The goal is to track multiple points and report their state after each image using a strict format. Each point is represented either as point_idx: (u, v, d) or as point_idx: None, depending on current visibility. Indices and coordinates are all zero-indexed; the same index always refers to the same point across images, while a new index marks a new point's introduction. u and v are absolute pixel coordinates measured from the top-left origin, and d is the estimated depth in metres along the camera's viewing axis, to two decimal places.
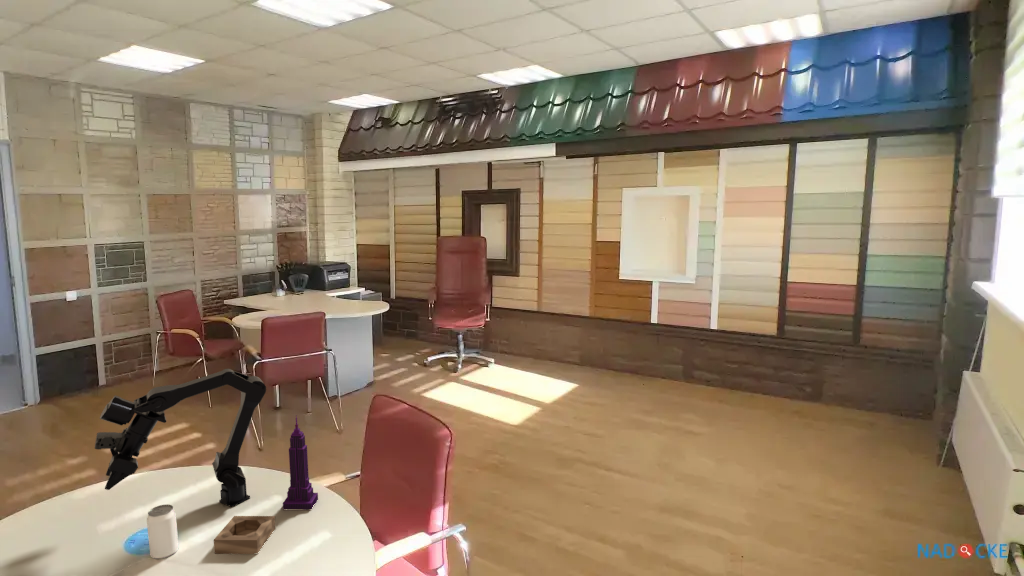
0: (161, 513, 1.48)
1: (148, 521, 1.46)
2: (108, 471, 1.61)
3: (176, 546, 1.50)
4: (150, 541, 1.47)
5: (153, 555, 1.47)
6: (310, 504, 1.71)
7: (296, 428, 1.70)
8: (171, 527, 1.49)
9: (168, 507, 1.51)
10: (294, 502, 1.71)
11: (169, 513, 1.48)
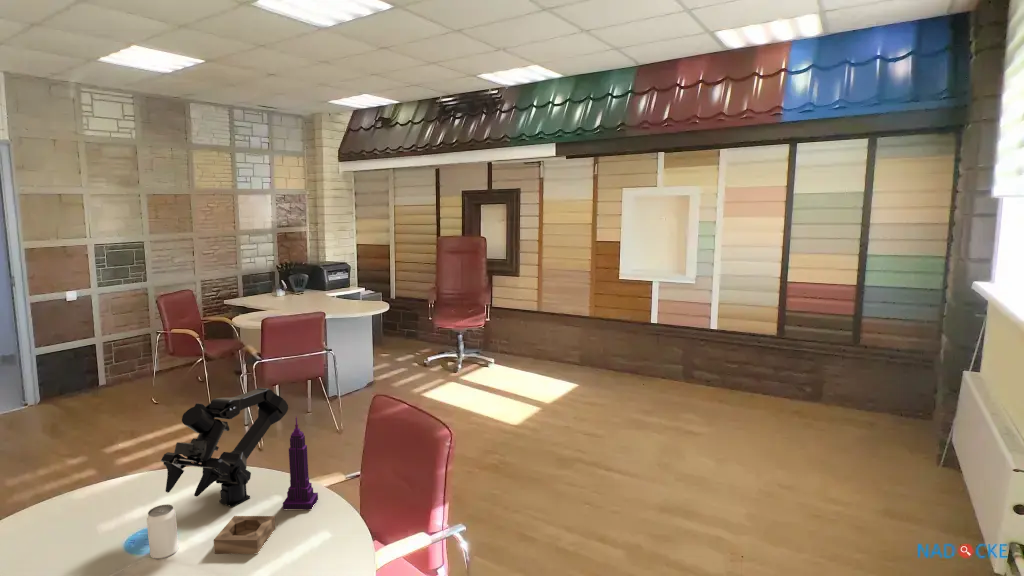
0: (161, 513, 1.48)
1: (148, 521, 1.46)
2: (168, 487, 1.57)
3: (176, 546, 1.50)
4: (150, 541, 1.47)
5: (153, 555, 1.47)
6: (310, 504, 1.71)
7: (296, 428, 1.70)
8: (171, 527, 1.49)
9: (168, 507, 1.51)
10: (294, 502, 1.71)
11: (169, 513, 1.48)
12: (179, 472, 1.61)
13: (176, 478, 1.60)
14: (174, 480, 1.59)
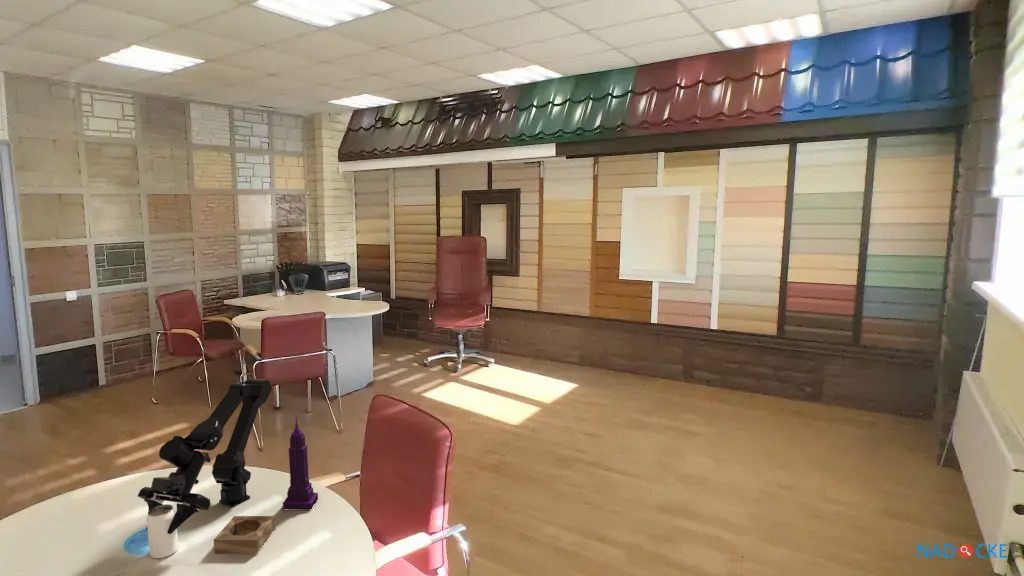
0: (161, 513, 1.48)
1: (148, 521, 1.46)
2: None
3: (176, 546, 1.50)
4: (150, 541, 1.47)
5: (153, 555, 1.47)
6: (310, 504, 1.71)
7: (296, 428, 1.70)
8: None
9: (168, 507, 1.51)
10: (294, 502, 1.71)
11: (169, 513, 1.48)
12: None
13: None
14: None
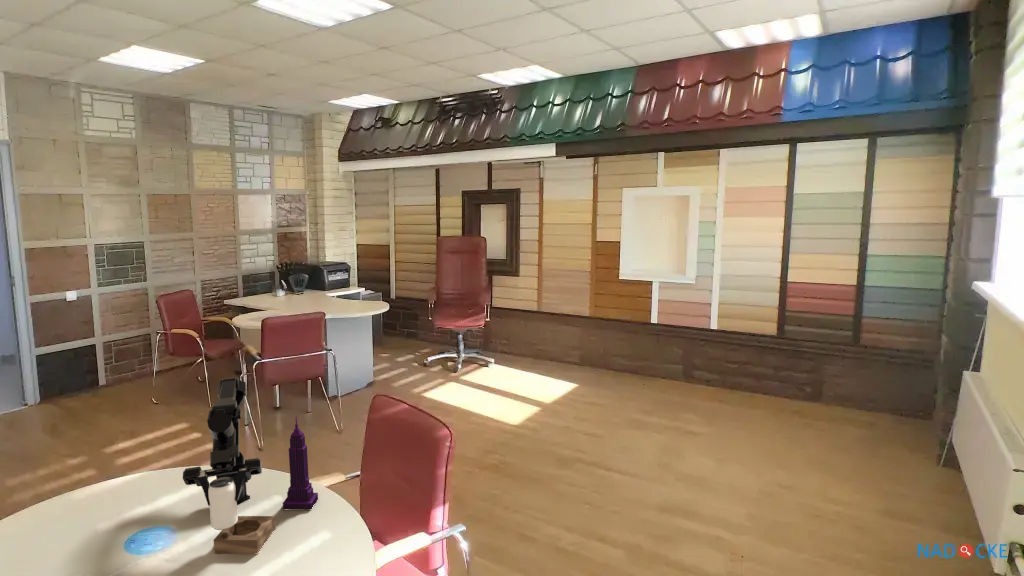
0: (225, 484, 1.50)
1: (216, 493, 1.47)
2: None
3: None
4: (218, 513, 1.48)
5: (221, 527, 1.49)
6: (310, 504, 1.71)
7: (296, 428, 1.70)
8: (235, 495, 1.52)
9: (224, 479, 1.52)
10: (294, 502, 1.71)
11: (233, 482, 1.51)
12: (208, 485, 1.53)
13: None
14: None
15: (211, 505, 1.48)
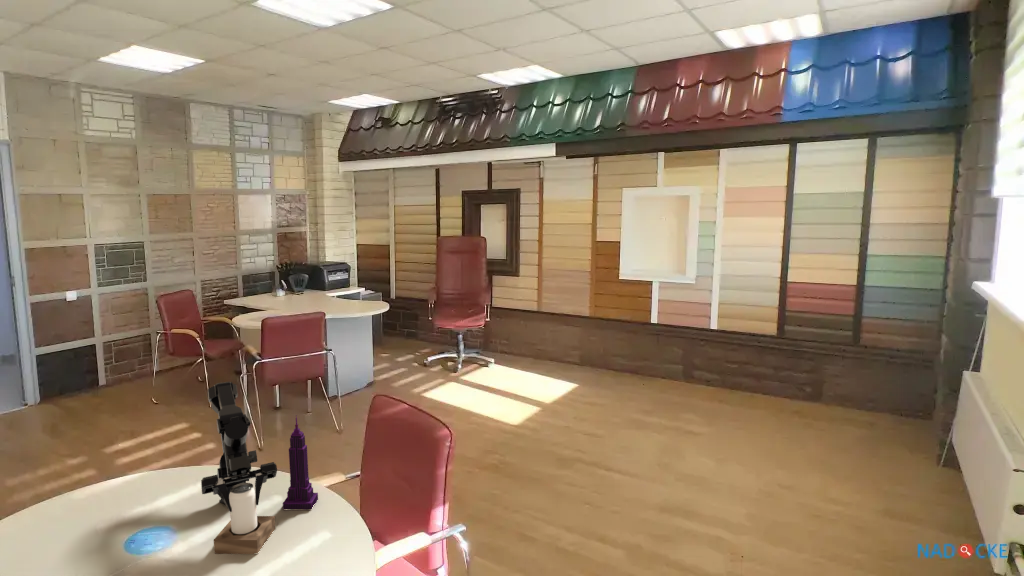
0: (246, 489, 1.53)
1: (239, 499, 1.50)
2: None
3: None
4: (241, 518, 1.51)
5: (244, 531, 1.52)
6: (310, 504, 1.71)
7: (296, 428, 1.70)
8: (255, 499, 1.55)
9: (242, 485, 1.55)
10: (294, 502, 1.71)
11: None
12: None
13: None
14: None
15: (233, 511, 1.51)
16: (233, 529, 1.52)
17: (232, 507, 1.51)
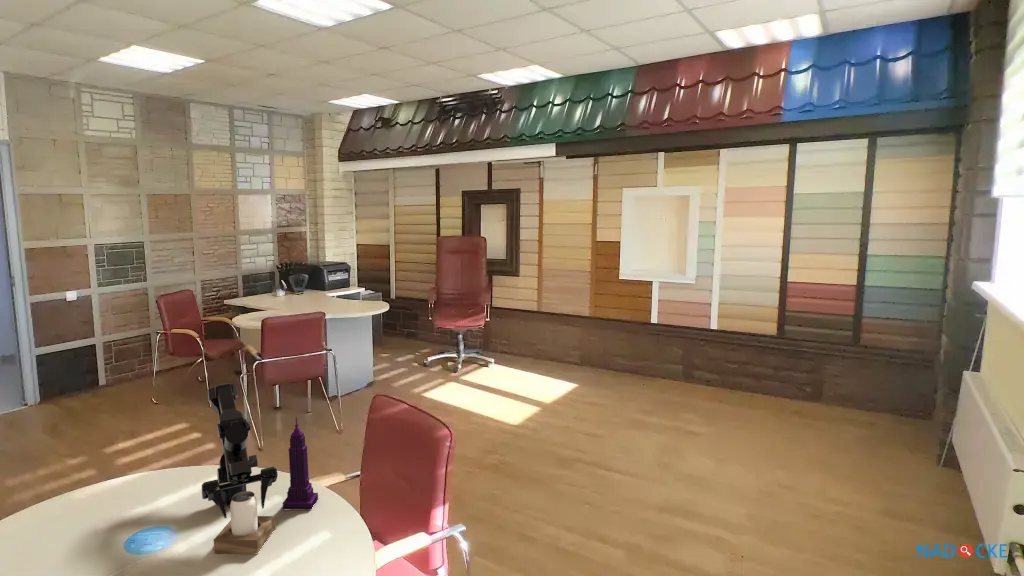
0: (247, 497, 1.54)
1: (240, 507, 1.51)
2: (225, 512, 1.51)
3: None
4: (241, 527, 1.52)
5: None
6: (310, 504, 1.71)
7: (296, 428, 1.70)
8: (256, 508, 1.56)
9: (244, 493, 1.56)
10: (294, 502, 1.71)
11: (254, 496, 1.55)
12: None
13: None
14: None
15: (234, 519, 1.52)
16: None
17: (233, 515, 1.52)
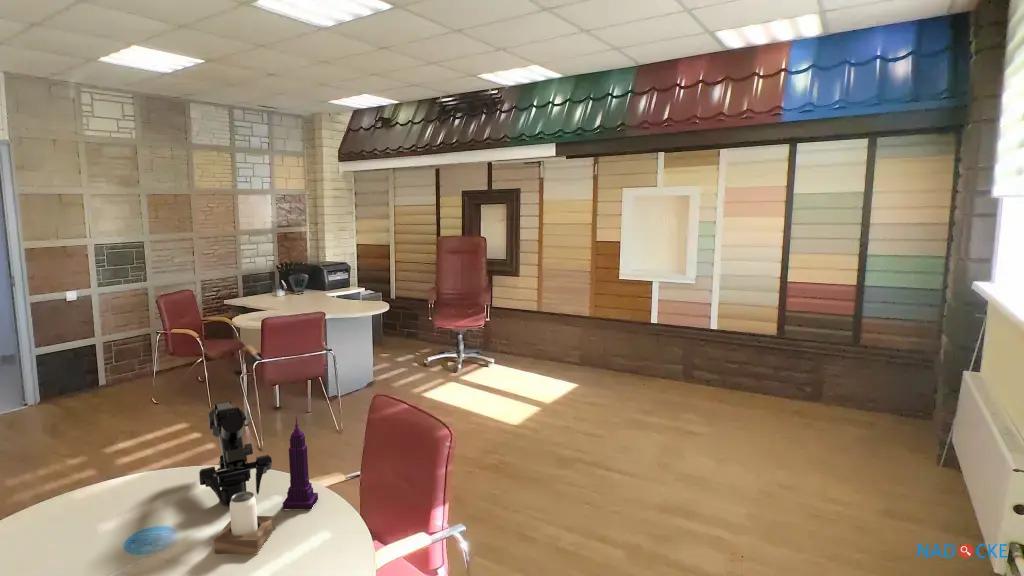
0: (246, 498, 1.54)
1: (239, 508, 1.51)
2: (222, 497, 1.58)
3: None
4: (241, 527, 1.52)
5: None
6: (310, 504, 1.71)
7: (296, 428, 1.70)
8: None
9: (243, 493, 1.56)
10: (294, 502, 1.71)
11: (253, 496, 1.55)
12: None
13: None
14: None
15: (234, 520, 1.52)
16: None
17: (232, 516, 1.52)
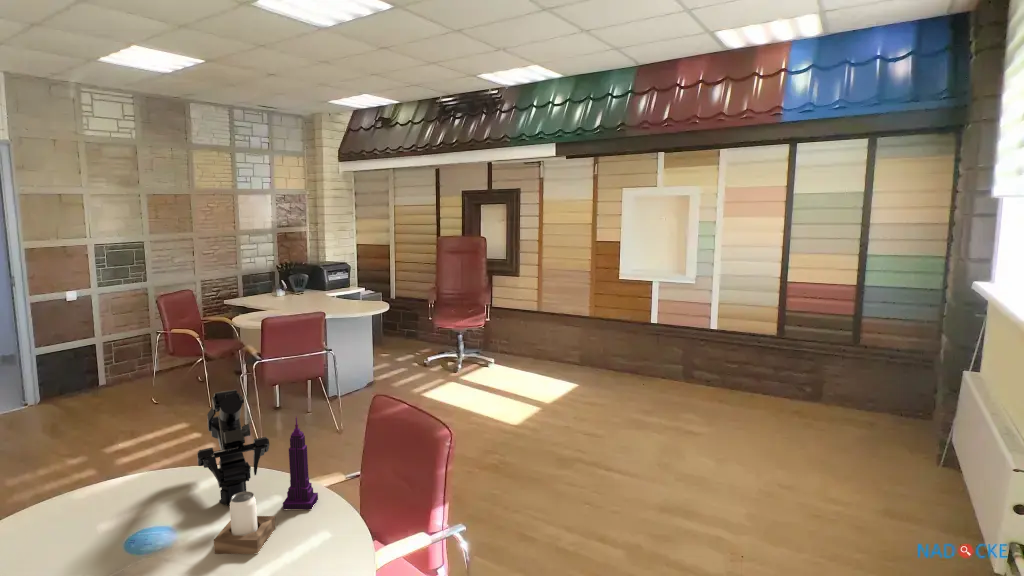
0: (246, 498, 1.54)
1: (239, 508, 1.51)
2: (220, 478, 1.60)
3: None
4: (241, 527, 1.52)
5: None
6: (310, 504, 1.71)
7: (296, 428, 1.70)
8: None
9: (243, 493, 1.56)
10: (294, 502, 1.71)
11: (253, 496, 1.55)
12: None
13: None
14: None
15: (234, 520, 1.52)
16: None
17: (232, 516, 1.52)
